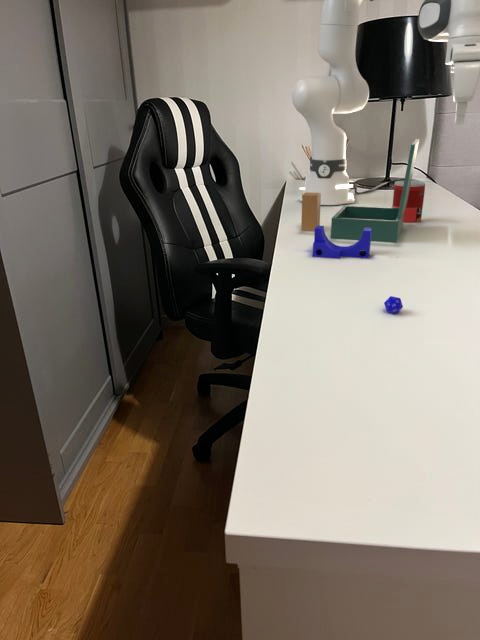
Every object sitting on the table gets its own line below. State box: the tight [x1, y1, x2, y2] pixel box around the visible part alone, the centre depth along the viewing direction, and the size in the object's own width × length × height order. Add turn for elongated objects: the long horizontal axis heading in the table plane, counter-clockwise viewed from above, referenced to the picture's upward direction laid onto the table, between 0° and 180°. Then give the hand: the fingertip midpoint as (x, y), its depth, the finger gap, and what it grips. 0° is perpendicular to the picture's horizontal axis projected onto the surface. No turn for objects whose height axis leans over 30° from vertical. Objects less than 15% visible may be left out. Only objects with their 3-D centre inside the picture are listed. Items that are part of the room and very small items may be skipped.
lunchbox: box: [330, 205, 404, 244], centre depth 126 cm, size 16×17×6 cm
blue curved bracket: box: [312, 225, 372, 259], centre depth 110 cm, size 12×4×6 cm, turn 72°
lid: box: [397, 138, 420, 220], centre depth 119 cm, size 16×17×1 cm
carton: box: [300, 192, 321, 232], centre depth 130 cm, size 4×4×10 cm
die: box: [383, 295, 404, 315], centre depth 81 cm, size 3×3×3 cm
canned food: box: [391, 179, 426, 224], centre depth 138 cm, size 8×8×11 cm
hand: (459, 124), depth 111 cm, fingers closed
